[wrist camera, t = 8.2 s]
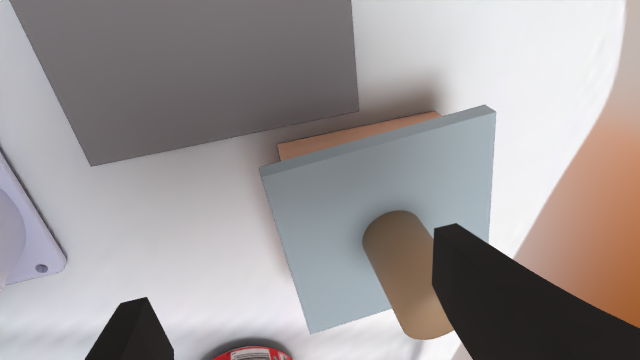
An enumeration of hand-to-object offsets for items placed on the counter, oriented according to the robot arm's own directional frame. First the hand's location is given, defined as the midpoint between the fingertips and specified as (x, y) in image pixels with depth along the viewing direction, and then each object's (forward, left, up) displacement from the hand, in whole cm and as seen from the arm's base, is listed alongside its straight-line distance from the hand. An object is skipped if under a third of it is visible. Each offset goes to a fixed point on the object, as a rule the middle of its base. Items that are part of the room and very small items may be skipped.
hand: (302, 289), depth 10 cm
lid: (+5, -5, -7) cm, 9 cm away
